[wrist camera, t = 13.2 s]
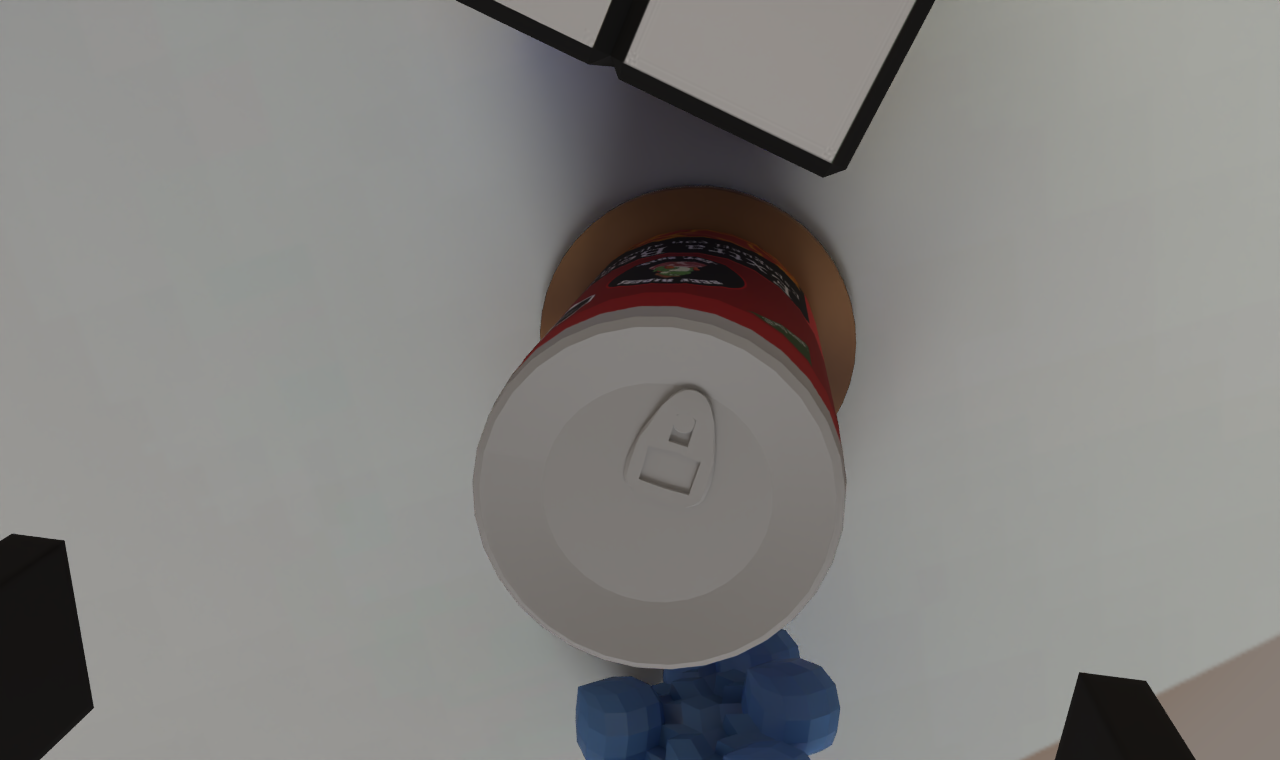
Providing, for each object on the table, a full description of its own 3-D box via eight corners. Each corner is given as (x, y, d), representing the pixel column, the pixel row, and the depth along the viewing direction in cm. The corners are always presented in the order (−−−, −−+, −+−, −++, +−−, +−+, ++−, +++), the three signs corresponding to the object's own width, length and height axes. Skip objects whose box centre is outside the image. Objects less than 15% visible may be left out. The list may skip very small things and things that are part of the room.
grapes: (727, 477, 30) (706, 716, 19) (866, 607, 31) (925, 911, 20) (509, 670, 34) (380, 967, 22) (638, 781, 34) (577, 1122, 23)
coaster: (548, 172, 27) (544, 173, 27) (877, 200, 26) (879, 202, 26) (538, 466, 31) (535, 472, 30) (831, 501, 30) (832, 508, 29)
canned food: (827, 226, 26) (867, 321, 16) (808, 473, 29) (832, 691, 19) (573, 219, 27) (456, 304, 17) (577, 458, 30) (477, 658, 20)
